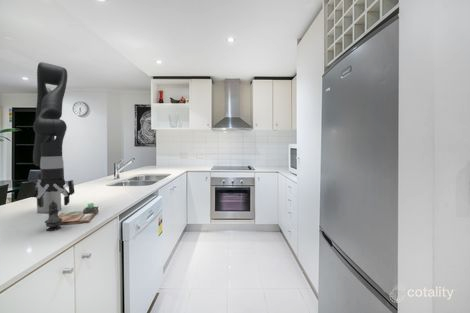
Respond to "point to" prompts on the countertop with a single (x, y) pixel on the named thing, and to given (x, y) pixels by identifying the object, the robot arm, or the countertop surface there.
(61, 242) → the countertop surface
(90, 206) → the button
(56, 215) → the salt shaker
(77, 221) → the picture board
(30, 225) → the countertop surface
